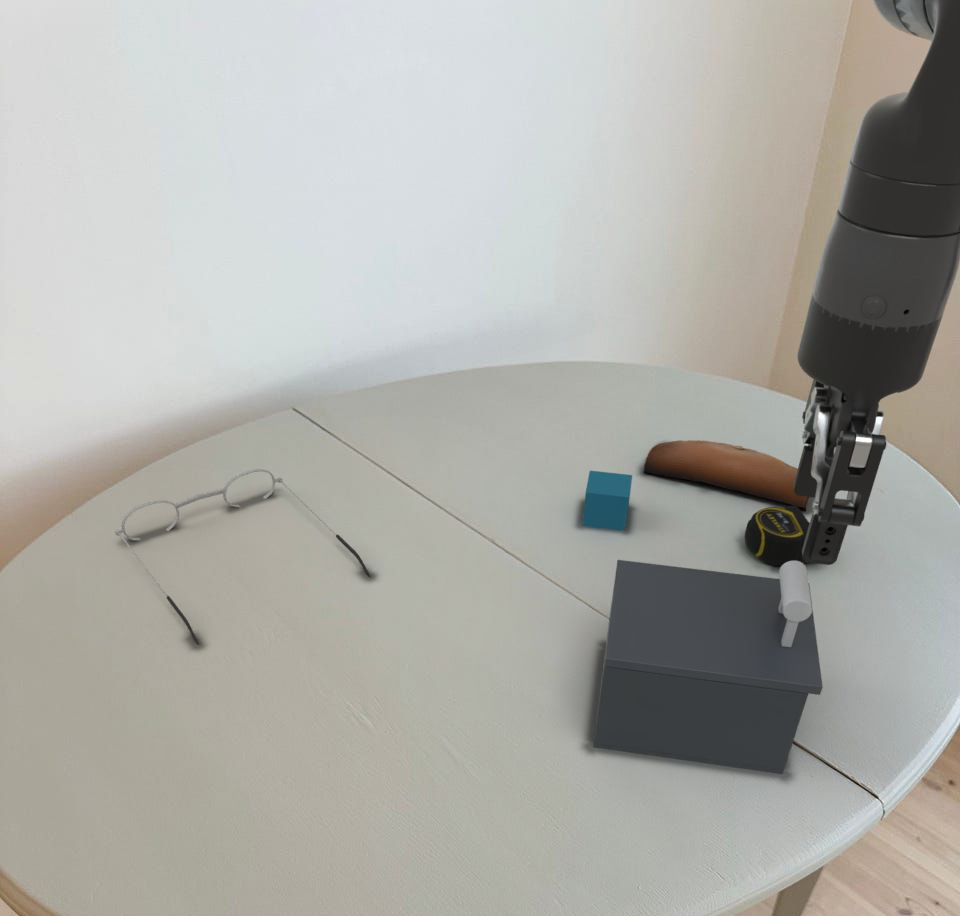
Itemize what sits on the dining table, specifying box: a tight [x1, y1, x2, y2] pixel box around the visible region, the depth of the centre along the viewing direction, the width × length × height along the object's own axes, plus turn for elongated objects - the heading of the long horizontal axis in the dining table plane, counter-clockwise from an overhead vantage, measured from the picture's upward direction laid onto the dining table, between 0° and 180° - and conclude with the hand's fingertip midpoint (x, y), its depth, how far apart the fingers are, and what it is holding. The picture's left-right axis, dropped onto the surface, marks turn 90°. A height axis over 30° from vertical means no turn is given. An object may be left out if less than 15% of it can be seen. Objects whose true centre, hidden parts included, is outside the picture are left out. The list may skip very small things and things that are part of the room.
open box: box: [592, 573, 809, 775], centre depth 79 cm, size 15×13×9 cm
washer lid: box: [603, 559, 824, 696], centre depth 74 cm, size 15×13×5 cm
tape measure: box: [744, 505, 810, 567], centre depth 98 cm, size 7×7×4 cm
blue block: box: [581, 470, 633, 532], centre depth 102 cm, size 4×4×4 cm
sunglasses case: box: [643, 439, 810, 512], centre depth 109 cm, size 18×7×7 cm
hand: (812, 525), depth 69 cm, fingers open, 8 cm apart
